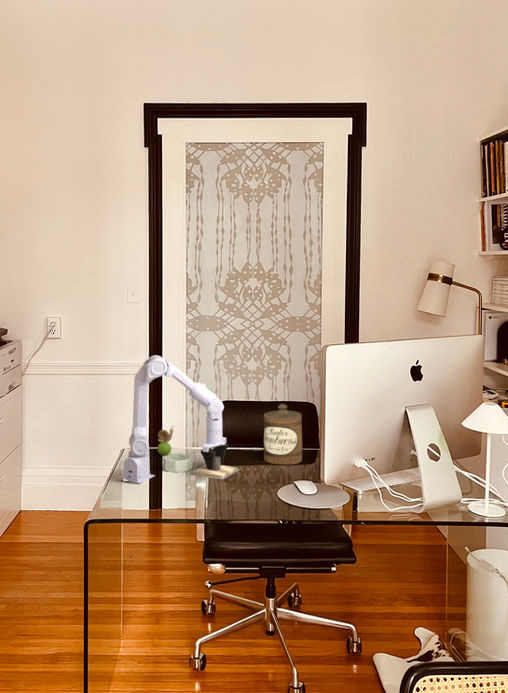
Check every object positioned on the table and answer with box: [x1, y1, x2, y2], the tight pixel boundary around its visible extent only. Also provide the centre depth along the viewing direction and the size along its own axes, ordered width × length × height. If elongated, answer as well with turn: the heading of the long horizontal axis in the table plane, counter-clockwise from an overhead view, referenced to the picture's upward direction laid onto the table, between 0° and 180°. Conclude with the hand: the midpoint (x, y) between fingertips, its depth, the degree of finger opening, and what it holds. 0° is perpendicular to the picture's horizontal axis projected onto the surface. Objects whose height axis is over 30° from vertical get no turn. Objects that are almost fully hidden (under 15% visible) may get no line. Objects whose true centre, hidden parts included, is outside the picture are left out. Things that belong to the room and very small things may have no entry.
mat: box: [188, 468, 241, 481], centre depth 258 cm, size 14×14×1 cm
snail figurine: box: [157, 425, 174, 457], centre depth 282 cm, size 5×6×12 cm
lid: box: [191, 455, 238, 478], centre depth 258 cm, size 12×12×5 cm
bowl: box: [162, 453, 193, 473], centre depth 263 cm, size 10×10×5 cm
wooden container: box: [263, 403, 303, 466], centre depth 274 cm, size 15×15×22 cm
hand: (214, 466), depth 258 cm, fingers open, 7 cm apart
